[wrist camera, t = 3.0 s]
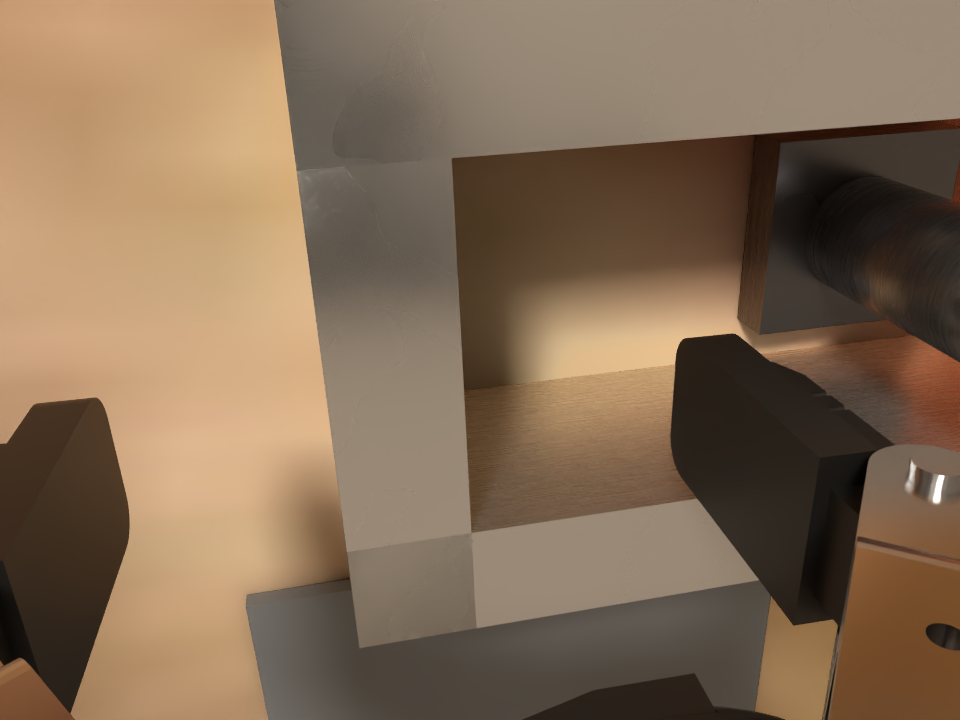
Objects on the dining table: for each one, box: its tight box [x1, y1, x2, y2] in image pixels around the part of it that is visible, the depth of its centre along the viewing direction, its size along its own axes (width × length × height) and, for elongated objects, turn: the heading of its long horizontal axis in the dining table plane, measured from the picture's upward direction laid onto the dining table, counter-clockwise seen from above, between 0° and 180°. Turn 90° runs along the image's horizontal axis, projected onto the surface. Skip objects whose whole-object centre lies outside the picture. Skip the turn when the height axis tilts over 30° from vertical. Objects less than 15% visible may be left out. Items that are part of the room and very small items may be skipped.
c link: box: [274, 0, 960, 648], centre depth 15 cm, size 14×10×5 cm
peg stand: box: [737, 121, 960, 362], centre depth 15 cm, size 4×4×7 cm
